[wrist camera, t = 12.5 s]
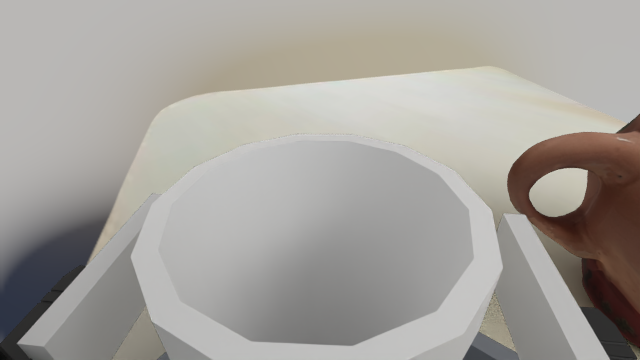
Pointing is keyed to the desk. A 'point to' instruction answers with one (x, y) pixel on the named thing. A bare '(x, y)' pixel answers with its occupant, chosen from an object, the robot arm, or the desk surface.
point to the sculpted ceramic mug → (594, 215)
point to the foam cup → (318, 255)
